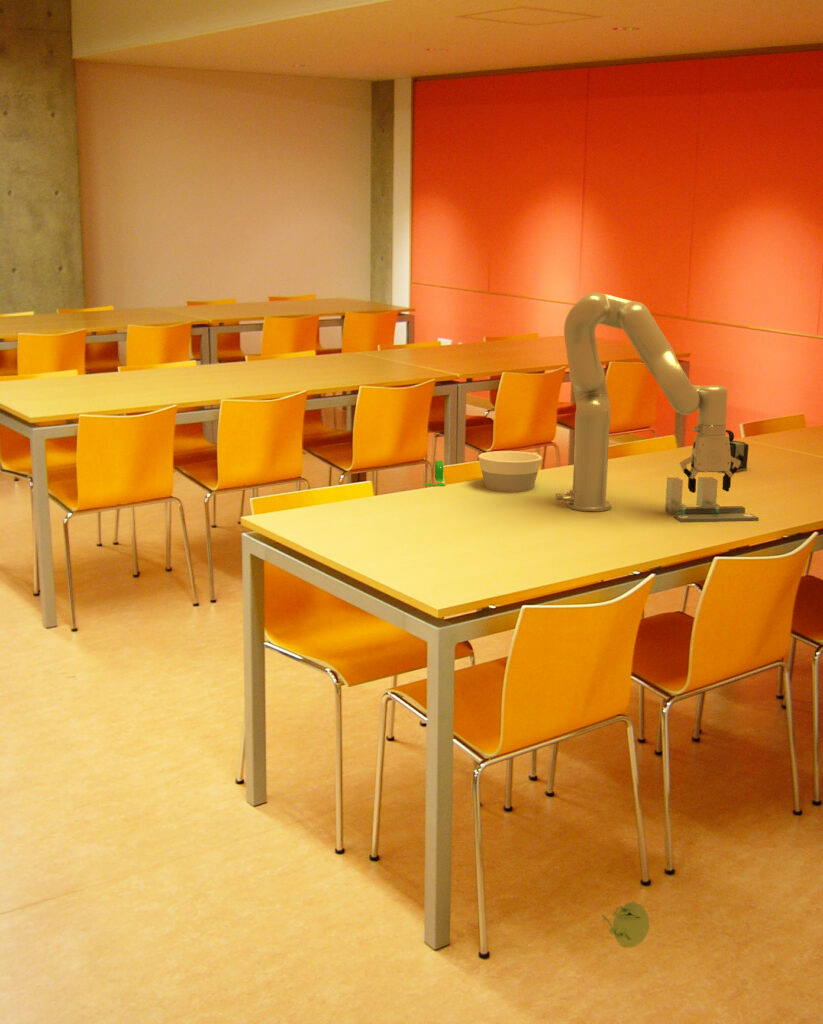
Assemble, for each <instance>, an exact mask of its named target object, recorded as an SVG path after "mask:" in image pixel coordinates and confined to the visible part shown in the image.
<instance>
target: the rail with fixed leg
mask: <svg viewBox="0 0 823 1024" xmlns="http://www.w3.org/2000/svg"><path fill="white" fill-rule="evenodd" d="M683 483H684V480H683V479H681V478H679V477H677V476H676V477H675V476H674V477H667V478H666V491H665V505H664V506H665V507H664V512H665V513H666V514H668V515H670V516H675V515H707V514H715V508H700V507H699V506H687V505H685V503H682V500H683V499H682V498H683V486H684V485H683ZM719 514H746V507H744V506H741V505H736V506H735V505H733V506H731V505H729V506H724V505H723V506H721V505H720V508H719Z"/></svg>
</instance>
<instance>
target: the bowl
mask: <svg viewBox="0 0 823 1024" xmlns="http://www.w3.org/2000/svg"><path fill="white" fill-rule="evenodd" d="M542 459H543V457H542V455H539V454H537V453H533V452H528V451H527V452H526V451H516V450H497V451H496V450H495V451H487V452H482V453H480V454H479V455H478V462H479V466H480V470H481V475H482V479H483V483H484V487H486V489H488V490H493V491H496V492H505V493H519V492H521V493H523V492H527V491H530V490H533V489H534V487H535V483H536V480H537V476H538V473H539V469H540V466H541V463H542Z"/></svg>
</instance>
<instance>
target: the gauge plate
mask: <svg viewBox="0 0 823 1024" xmlns="http://www.w3.org/2000/svg"><path fill="white" fill-rule="evenodd" d="M673 516H674V519H675V520H676V521H679V522H680V523H691V522H692V523H693V522H694V523H696V522H699V523H701V522H702V523H703V522H704V523H705V522H750V521H752V522H758V521H759V520H760V519H759V518H760V517H758V516H757V515H754V514H752V513H726V514H718V515H715V514H685V515H673Z"/></svg>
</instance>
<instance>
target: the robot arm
mask: <svg viewBox="0 0 823 1024" xmlns="http://www.w3.org/2000/svg"><path fill="white" fill-rule="evenodd" d="M598 325H603V326H606V327H611V328H613V329H618V330H622V331H624V333H625V335H626V337H627V338H628V340H629V341H630V343H631V344H632V346H633V348H634V349H635V350H636V352H637V354H638V356H639V357H640V360H641V361H642V362H643V364H644V365H645V367H646V369H647V370H648V372H650V374H651V375H652V376H653V377H654V379H655V381H656V383H657V384H658V386H659V388H660V389H661V391H662V392H663V394H664V395H665V397H666V398H667V401H668V402H669V404H670V405H671V407H672V408H673V409H674V411H675V412H676V413H678V414H680V415H684V416H686V415H691V414H693V413H694V412H696V410H697V412H698V416H697V424H696V426H693V427H692V432H696V434H695V435H694V440H693V443H692V448H691V456H689V457H687V458H685V459H684V460H682V461H680V462H679V466H680V468H681V470H682V472H683V473H684V474H685V476H686V477H687V478H688V481H687V482H688V483H687V488H688V491H689V492H690V493H693V494H694V493H697V491H696V490H697V489H696V488H697V479H696V478H695V477H696V476H697V475H698V473H718V472H723V473H722V474H724V475H723V476H722V490H723V491H725V492H729V491H730V489H731V486H732V485H731V483H732V478H733V476H734V474H735V473H737V472H736V471H737V469H738V467H739V465H740V464H741V461H740V460H738V459H736V458H734V457H732V456H731V453H730V442H729V434H727V432H726V430H727V411H728V409H727V408H728V389H727V387H726V386H723V385H719V384H718V385H716V384H715V385H714V384H709V385H706V384H705V385H697V384H696V385H695V384H692V383H691V382H692V381H691V380H690V379H689V378H688V376H687V374H686V372H685V371H684V369H683V367H682V366H681V364H680V362H679V360H678V358H677V356H676V354H675V351H674V349H673V347H672V345H671V344H670V342H669V341H668V339H667V338H666V336H665V335H664V333H663V332H662V330H661V328H660V327H659V324H658V323H657V321H656V320H655V318H654V317H653V315H652V313H651V312H650V310H649V308H648V306H646V305H645V304H644V303H643V302H639V301H635V300H630V299H625V298H623V297H618V296H613V295H611V294H606V293H602V292H599V291H598V292H597V291H592V292H589V293H587V294H586V295H584V296H583V297H582V298H581V299H579V300H578V301H577V302H576V303H575V304H574V305H573V307H572V308H571V309H570V310H569V312H568V314H567V316H566V318H565V322H564V327H563V335H564V336H563V337H564V343H565V350H566V357H567V363H568V370H569V371H568V372H569V381H570V383H571V385H572V391H573V395H574V401H575V405H576V409H575V412H574V413H575V416H574V445H573V446H574V447H573V450H574V451H573V470H572V471H573V473H572V474H573V475H572V476H573V477H572V489H569V492H568V491H567V492H566V493H561V492H560V493H559V492H558V493H555V500H556V501H562V502H566V507H568V508H569V509H571V510H576V511H580V512H581V511H582V512H583V511H584V512H602V511H609V510H611V509H612V503H611V502H610V501H607V491H608V490H607V489H608V487H607V486H608V483H607V482H608V469H609V468H608V466H609V465H608V464H609V447H610V445H609V442H610V428H611V427H610V426H611V425H610V424H611V403H610V398H609V391H608V386H607V380H606V374H605V369H604V366H603V364H602V362H601V361H600V357H599V356H600V355H599V351H598V343H597V339H596V328H597V326H598ZM731 461H732V462H733V463H734V464H733V467H731V468H730V466H731ZM689 464H690V467H691V468H690V469H688V466H687V465H689Z"/></svg>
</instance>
